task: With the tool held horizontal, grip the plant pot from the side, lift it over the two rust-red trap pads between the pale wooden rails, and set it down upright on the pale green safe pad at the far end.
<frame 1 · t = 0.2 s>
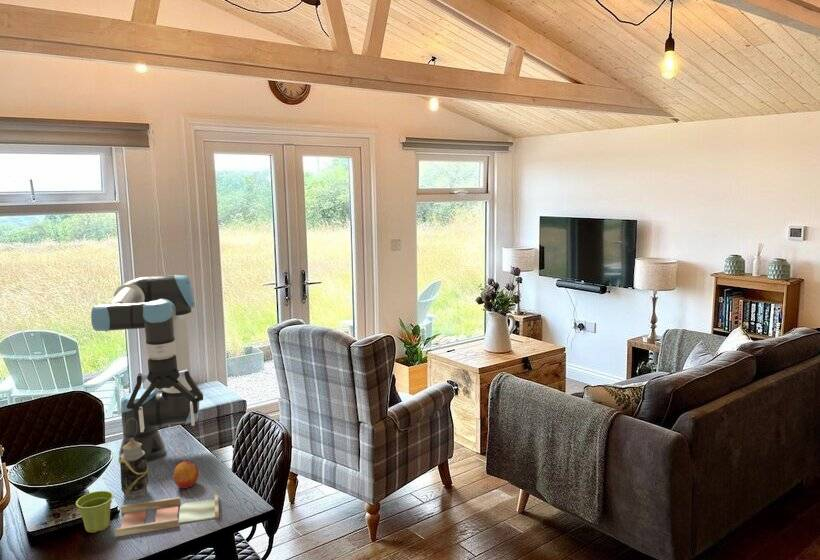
hand: (168, 427, 178), 28 cm above the table, tool pointing down, fingers open, 13 cm apart
trap box: (126, 522, 179), on the table
lantern: (136, 495, 195), on the table
plant pot: (97, 527, 177), on the table
fruit: (187, 486, 201), on the table
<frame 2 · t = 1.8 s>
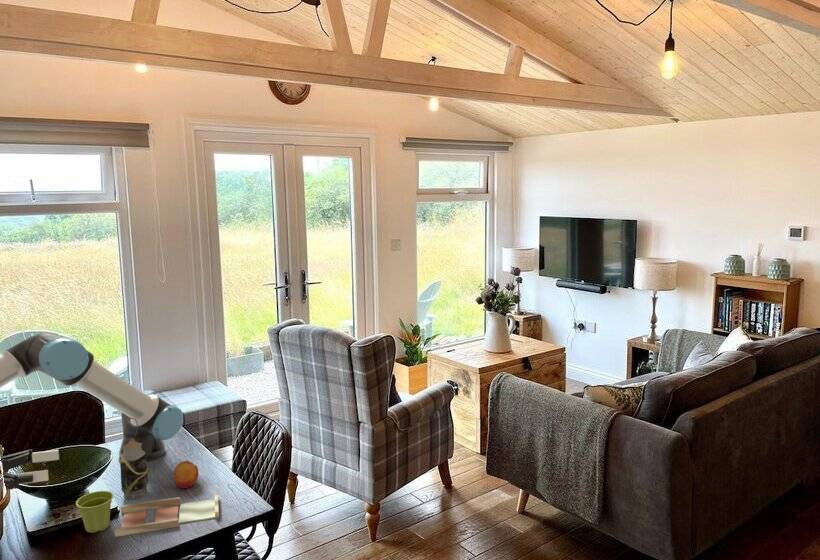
hand: (53, 464, 171), 20 cm above the table, tool horizontal, fingers open, 13 cm apart
nothing on the table moved.
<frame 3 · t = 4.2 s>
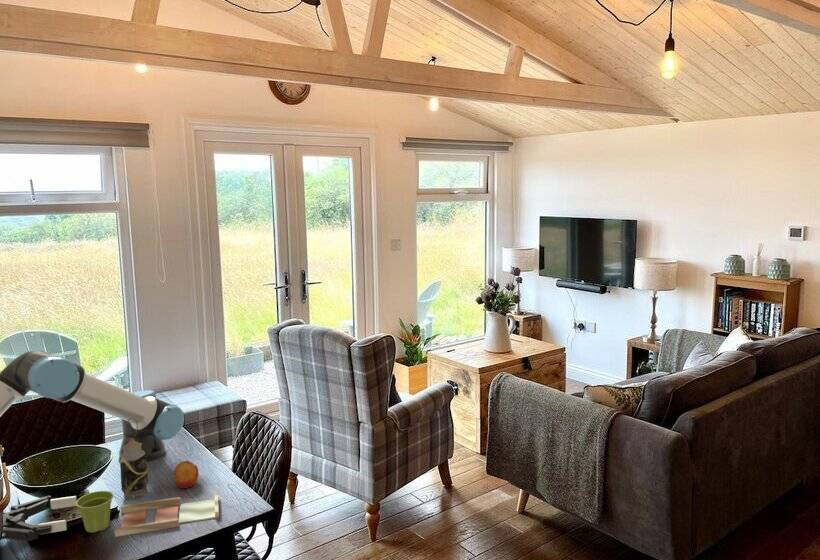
hand: (71, 512, 174), 6 cm above the table, tool horizontal, fingers open, 13 cm apart
nothing on the table moved.
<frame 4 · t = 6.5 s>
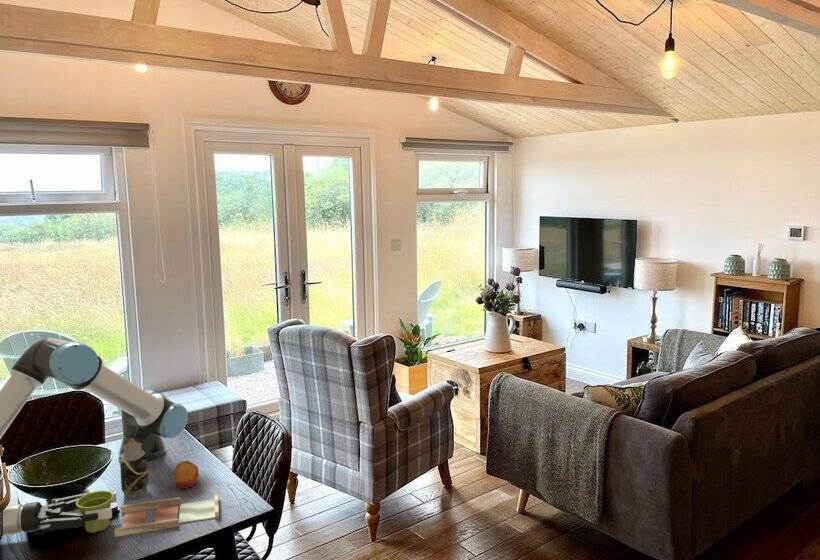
hand: (113, 504, 177), 6 cm above the table, tool horizontal, fingers closed on plant pot, 8 cm apart
plant pot: (97, 527, 177), on the table, touching gripper
everything else where it was.
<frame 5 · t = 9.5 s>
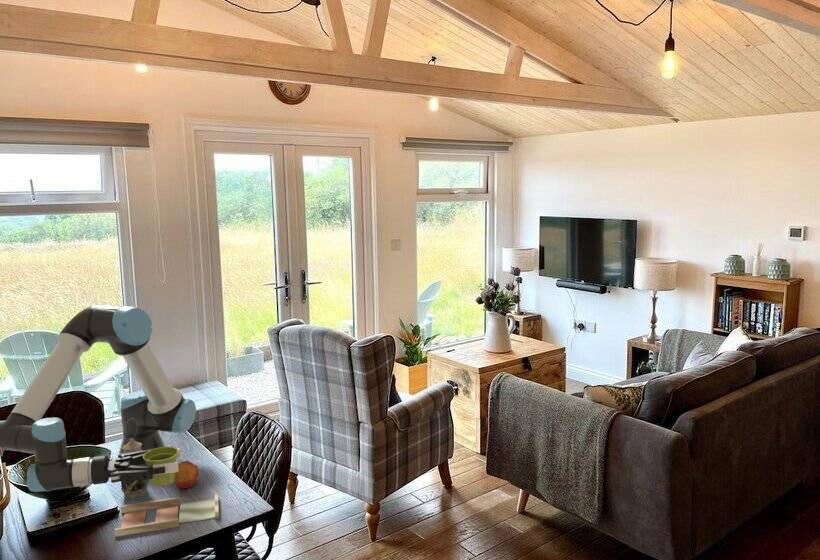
hand: (179, 460, 179), 18 cm above the table, tool horizontal, fingers closed on plant pot, 8 cm apart
plant pot: (163, 482, 179), point 12 cm above the table, touching gripper
everything else where it was.
when the fingers open (8 cm above the table, at t = 12.5 s): plant pot drops 1 cm, resting on trap box.
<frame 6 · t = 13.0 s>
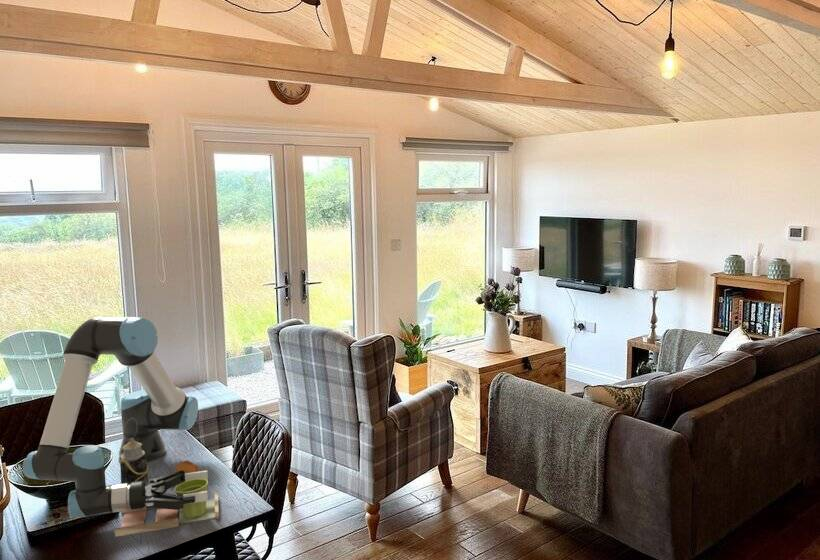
hand: (207, 485, 185), 8 cm above the table, tool horizontal, fingers open, 13 cm apart
plant pot: (195, 514, 182), point 1 cm above the table, touching gripper, trap box
everything else where it was.
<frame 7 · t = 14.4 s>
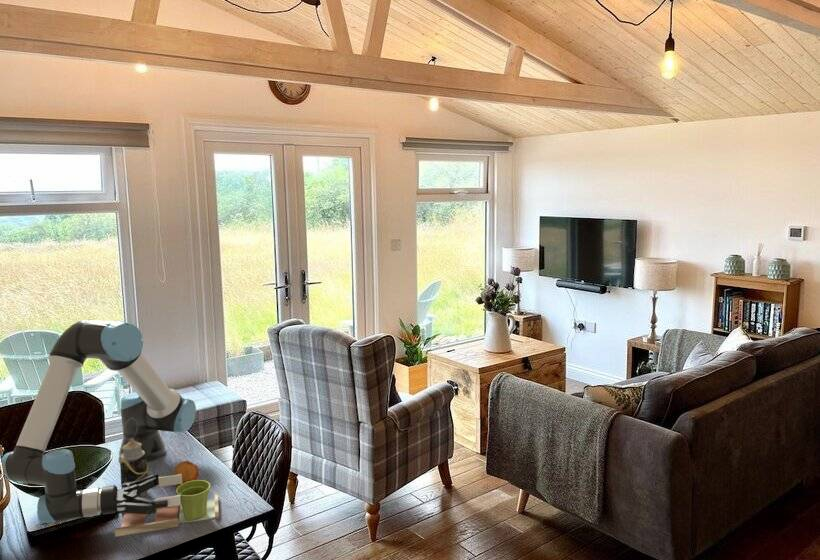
hand: (181, 488, 182), 8 cm above the table, tool horizontal, fingers open, 13 cm apart
plant pot: (195, 515, 182), resting on trap box
everything else where it was.
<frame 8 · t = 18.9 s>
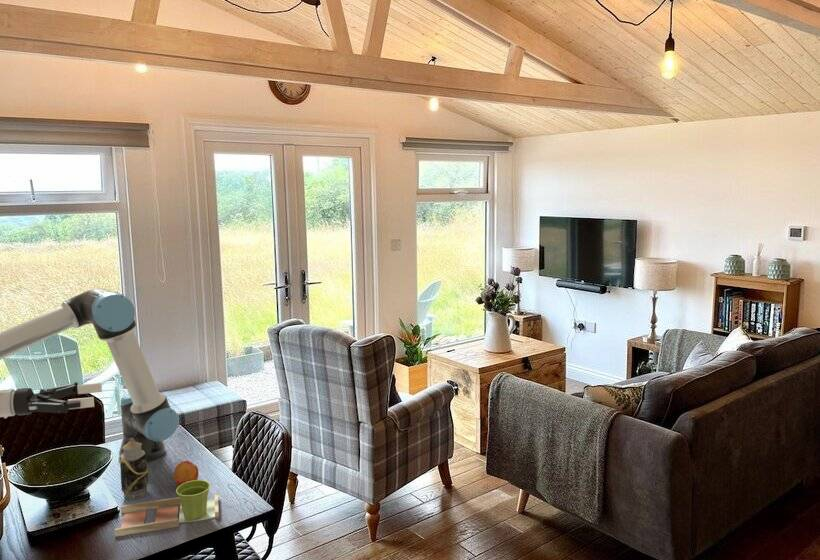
hand: (97, 394, 184), 35 cm above the table, tool horizontal, fingers open, 13 cm apart
nothing on the table moved.
at the end: plant pot inside the target area (2.8 cm from its centre), resting on trap box; plant pot tilted 0°; the gripper is holding nothing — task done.
